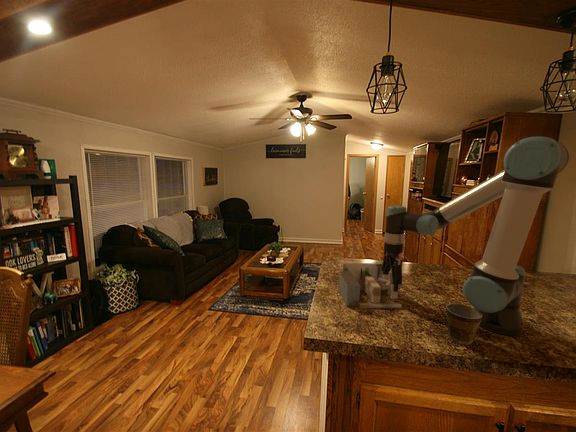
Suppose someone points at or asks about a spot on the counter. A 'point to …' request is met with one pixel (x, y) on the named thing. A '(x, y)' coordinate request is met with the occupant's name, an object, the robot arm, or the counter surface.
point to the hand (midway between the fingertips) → (389, 293)
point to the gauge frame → (360, 283)
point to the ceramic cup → (462, 322)
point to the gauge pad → (372, 289)
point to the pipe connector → (388, 283)
